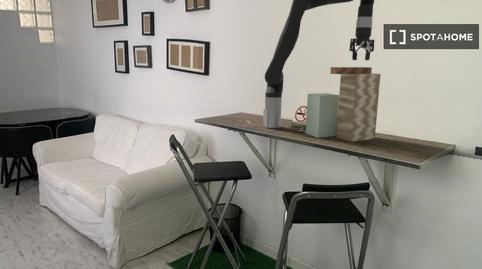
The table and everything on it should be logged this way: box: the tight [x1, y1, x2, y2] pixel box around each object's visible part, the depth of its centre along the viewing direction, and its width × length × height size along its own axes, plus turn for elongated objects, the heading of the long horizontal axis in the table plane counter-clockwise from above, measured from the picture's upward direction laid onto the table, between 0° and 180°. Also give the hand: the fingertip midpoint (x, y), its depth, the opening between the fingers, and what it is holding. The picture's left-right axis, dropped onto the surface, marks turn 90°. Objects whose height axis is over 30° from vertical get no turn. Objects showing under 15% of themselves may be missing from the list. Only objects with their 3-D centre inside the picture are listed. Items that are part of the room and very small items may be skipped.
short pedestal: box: [305, 92, 339, 139], centre depth 193 cm, size 12×10×21 cm
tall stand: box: [335, 72, 382, 142], centre depth 186 cm, size 16×10×32 cm, turn 117°
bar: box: [329, 66, 373, 75], centre depth 180 cm, size 22×4×3 cm, turn 117°
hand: (360, 60), depth 190 cm, fingers open, 8 cm apart
